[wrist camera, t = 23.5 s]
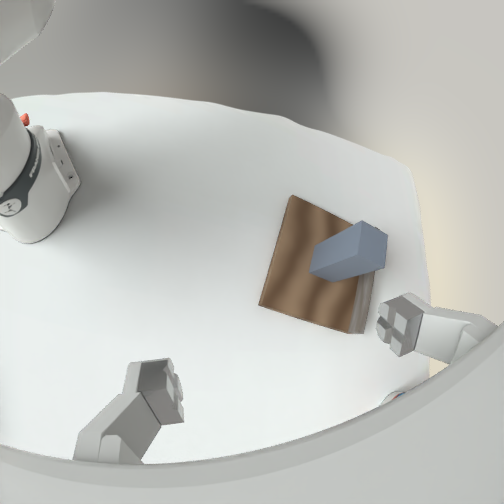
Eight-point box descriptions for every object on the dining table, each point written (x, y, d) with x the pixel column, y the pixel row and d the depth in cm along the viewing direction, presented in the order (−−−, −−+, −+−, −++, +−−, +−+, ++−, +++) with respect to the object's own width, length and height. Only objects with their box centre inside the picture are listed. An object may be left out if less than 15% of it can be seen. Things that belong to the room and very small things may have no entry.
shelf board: (258, 305, 42) (268, 303, 38) (289, 198, 49) (300, 187, 45) (349, 334, 46) (364, 334, 42) (366, 236, 52) (380, 230, 48)
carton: (308, 272, 45) (357, 254, 33) (314, 245, 46) (362, 220, 34) (334, 282, 46) (385, 268, 34) (339, 256, 47) (389, 235, 35)
